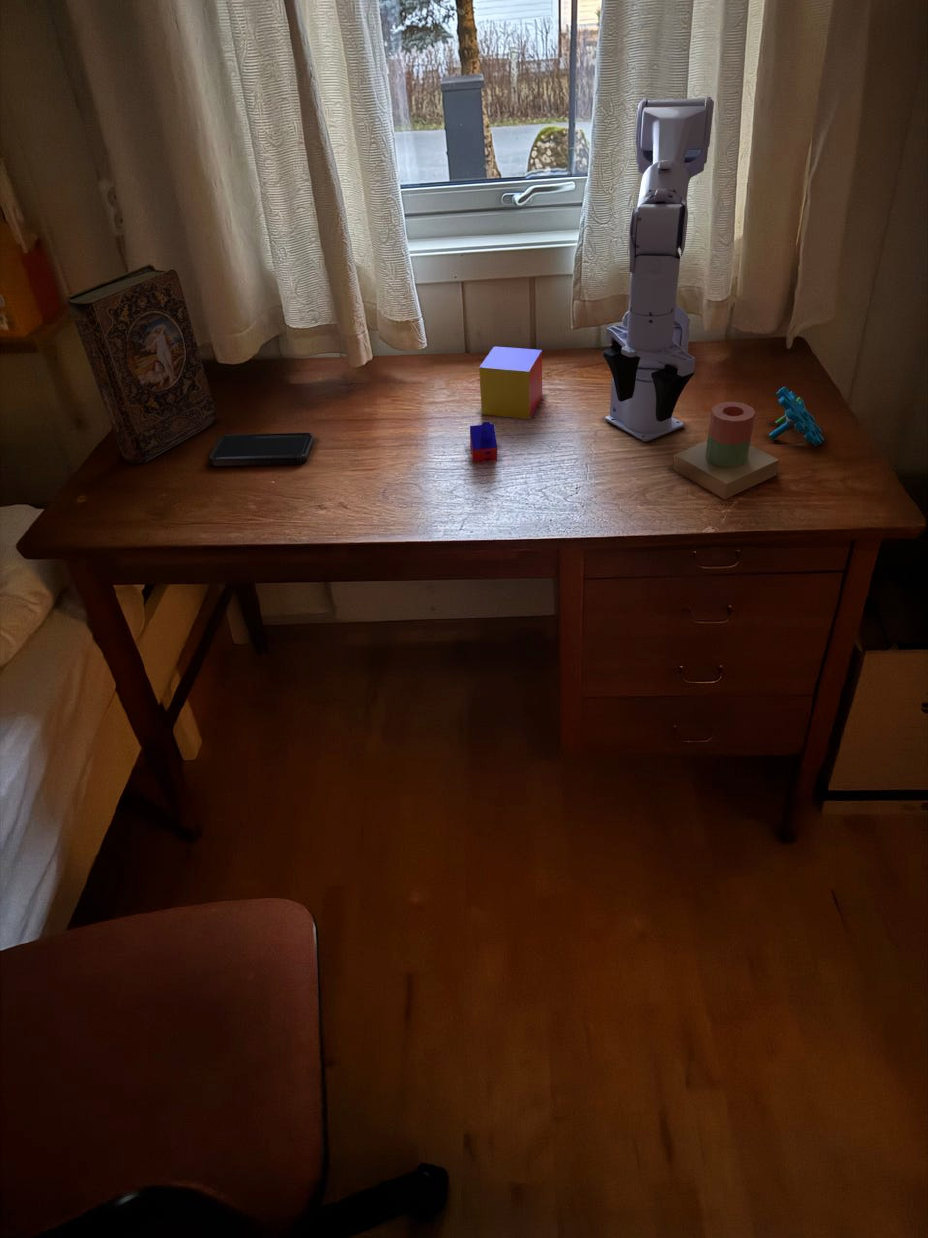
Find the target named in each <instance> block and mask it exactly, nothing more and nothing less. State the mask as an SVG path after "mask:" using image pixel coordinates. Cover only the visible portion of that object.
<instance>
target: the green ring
mask: <svg viewBox="0 0 928 1238" xmlns="http://www.w3.org/2000/svg"><path fill="white" fill-rule="evenodd" d="M706 441H707V448H706V458H707V460H708V461H709V462H710V463H712V464H714V465H716V466H721V467H738V466H740V465H742V464H744V463H745V462H746V460H747V458H748V453H749V447H750V445H751V441H752V437H751V438H750V439H749V441H747V442H744V443H742V444H733V445H729V444H724V443H719V442H717V441H715V440H713V439H711V437H710V435H709V433H708V434H707V440H706Z"/></svg>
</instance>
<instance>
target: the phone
mask: <svg viewBox="0 0 928 1238" xmlns="http://www.w3.org/2000/svg"><path fill="white" fill-rule="evenodd" d="M314 443H315V440H314V435H313V433H311V432H280V433H279V432H276V433H240V434H239V433H238V434H237V433H236V434H224V435H221V436H220V437H219V438H218V440H217V442H216V444H215V446H214V447H213V449H212V450H211V452H210V454H209V456H208V458H209V461H210V462H209V463H210V464H211V466H213V467H214V466H215V467H229V466H230V467H231V466H234V467H235V466H277V465H279V466H281V465H302V464H305V462H307V460H308V458H309V455H310V453H311V451H312V447H313V445H314Z"/></svg>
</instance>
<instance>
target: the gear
mask: <svg viewBox="0 0 928 1238" xmlns="http://www.w3.org/2000/svg"><path fill="white" fill-rule="evenodd" d="M776 396H778V398H779V399H778V403H779V405H780V406H781V407H782V408H783V409H784V410H785V411H784V415H783V416H780V418H778V419H777V420H776V421H775V424H776V425H777V426H779V425H780V426H779V427H777V428H776V429H774V430H773V431H771V432H770V433H769V434H768V435H769V438H770V439H771V440H773V441H774V440H775V439H777V438H778V437H780V436H781V435H782V434H784V433H786V432H787V431H789V429H790V428H791V429H794V428H795V429H796V431H797V432H798V433H799V434H800V433H802V432H803V433H804V435H803V437H804V439H805V440H806V442H808V443H809V444H810V443H812V444H813V446H815V447H819V446H821V445H822V444H823V443H822V442H824V441H825V438H824V436H822V434H821V433H822V430H821V429H822V428H821V427H820V426H818V425H817V423H815V422H816V419H815V417H814V415H813V414H812V413H809V411H808V409H807V407H806V405H805V401H804V400H803V397H801V396H798V397H797V395H796V394H795V393H794V392H793V391H792V390H791V391H789V389H788V387H786V386H783V387H781V388H780V389H778V391H776Z"/></svg>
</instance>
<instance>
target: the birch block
mask: <svg viewBox="0 0 928 1238" xmlns="http://www.w3.org/2000/svg"><path fill="white" fill-rule="evenodd" d="M706 448H707V440H705V441H702V442H700V443H698V444H695V445H693V446H691V447H688V448H686V449H684V450H682V451H679V452H677V453H675V454H674V455H673V465H672V470H673V471H675V472H676V473H678V474H680V475H681V476H683V477H685V478H686V479H688V480H690V481H691V482H694V483H695V484H697V485H699V486H700V487H702V488H704V489H705V490H707V491H709V492H711V493H713V494H714V495H715V496H718V497H719V498H721V499H722V500H727V499H729V498H731V497H733V496H735V495H737V494H739V493H742V492H743V491H745V490H748V489H750V488H752V487H754V486H757V485H758V484H760V483H764V482H765V481H767V480H769V479H771V478H773V477H775V476H777V474H778V473H777V472H778V468H779V464H780V463H779V462H780V459H779V458H777V457H775V456H774V455H773V456H772V454H769V453H767V452H765V451H763V450H761V449H759V448H757V447H755V446H753V445H751V444H750V447H749V453H748V458H747V460H746V462H745V463H744V464H742V465H740V466H738V467H721V466H716V465H714V464H712V463H710V462H709V461H708V460H707V458H706Z"/></svg>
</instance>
